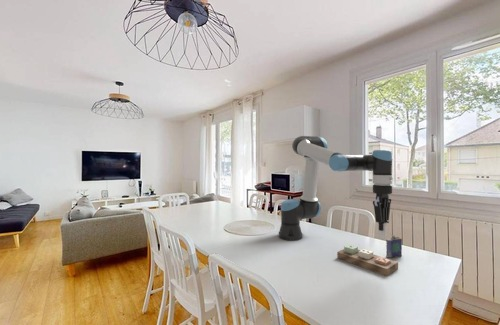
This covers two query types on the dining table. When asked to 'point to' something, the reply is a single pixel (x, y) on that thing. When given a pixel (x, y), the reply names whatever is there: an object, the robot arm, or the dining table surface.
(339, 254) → the board
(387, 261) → the three-pip tile
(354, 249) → the tile
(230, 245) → the dining table surface
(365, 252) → the tile
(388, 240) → the flask
